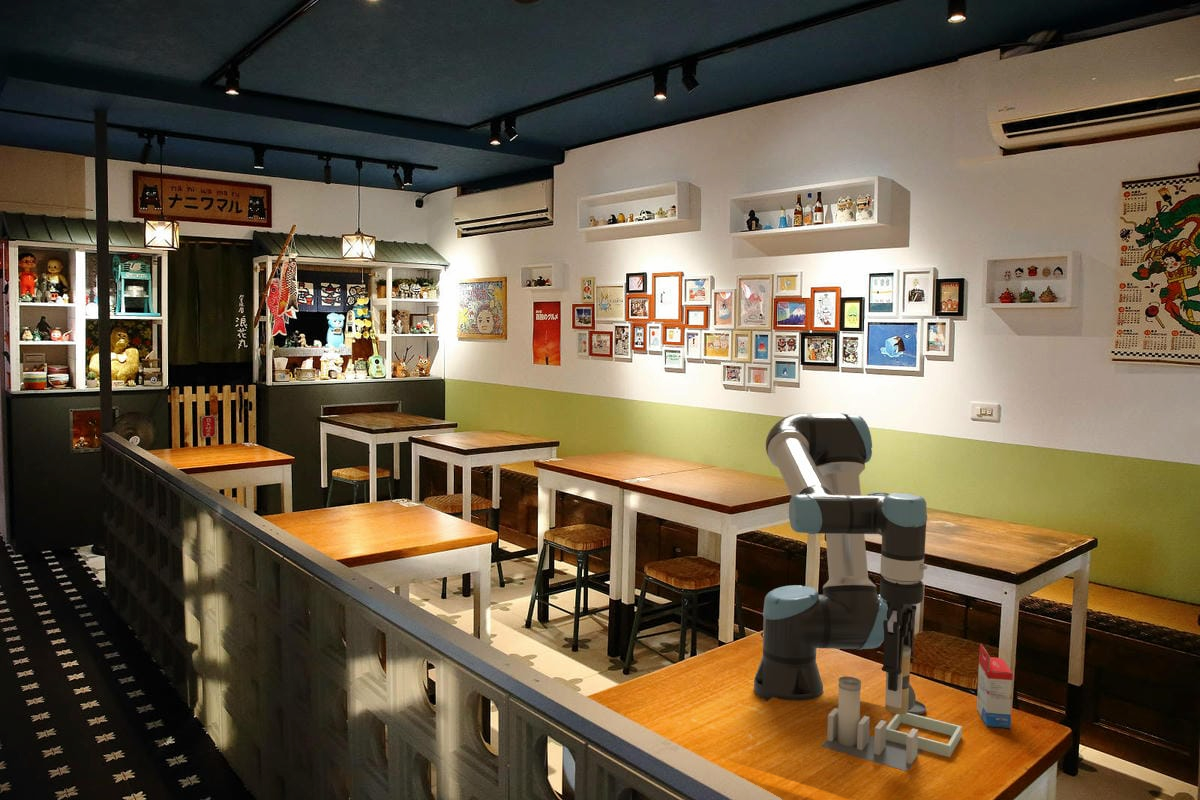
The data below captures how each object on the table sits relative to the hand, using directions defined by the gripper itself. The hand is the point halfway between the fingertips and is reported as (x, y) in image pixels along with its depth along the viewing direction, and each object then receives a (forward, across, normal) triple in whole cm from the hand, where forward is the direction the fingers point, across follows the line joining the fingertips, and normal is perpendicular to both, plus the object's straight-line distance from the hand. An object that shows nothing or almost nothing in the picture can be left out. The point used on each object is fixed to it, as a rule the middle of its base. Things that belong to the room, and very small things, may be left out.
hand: (896, 700), depth 157 cm
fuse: (+10, 0, +9) cm, 13 cm away
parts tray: (+12, +10, -3) cm, 15 cm away
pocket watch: (+12, +24, +4) cm, 27 cm away
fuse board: (+12, 0, +4) cm, 12 cm away
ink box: (+12, +31, -12) cm, 35 cm away
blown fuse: (+2, 0, 0) cm, 2 cm away
